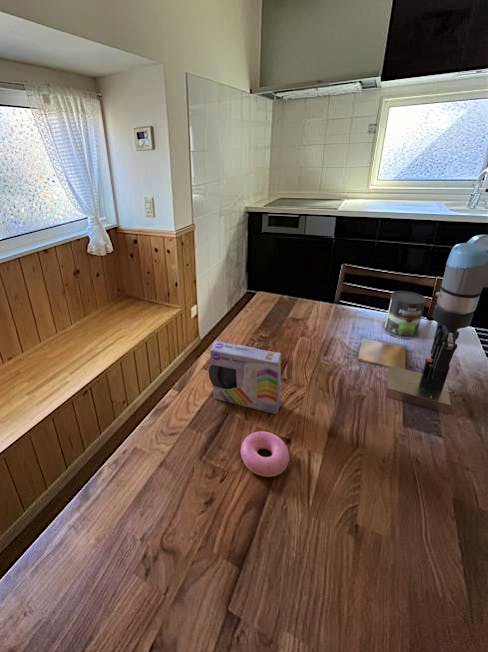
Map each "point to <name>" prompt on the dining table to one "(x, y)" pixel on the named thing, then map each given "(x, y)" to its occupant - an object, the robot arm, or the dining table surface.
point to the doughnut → (265, 464)
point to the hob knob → (426, 372)
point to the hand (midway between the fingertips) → (431, 384)
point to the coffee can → (404, 313)
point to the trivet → (381, 354)
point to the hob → (415, 390)
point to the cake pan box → (246, 376)
